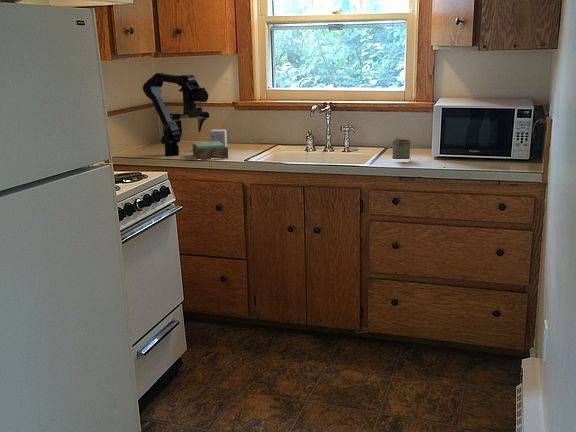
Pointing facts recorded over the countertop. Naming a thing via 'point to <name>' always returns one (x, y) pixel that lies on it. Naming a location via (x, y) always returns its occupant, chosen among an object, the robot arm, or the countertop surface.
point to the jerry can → (401, 149)
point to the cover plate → (208, 145)
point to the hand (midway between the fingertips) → (190, 133)
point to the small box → (219, 136)
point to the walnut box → (210, 152)
